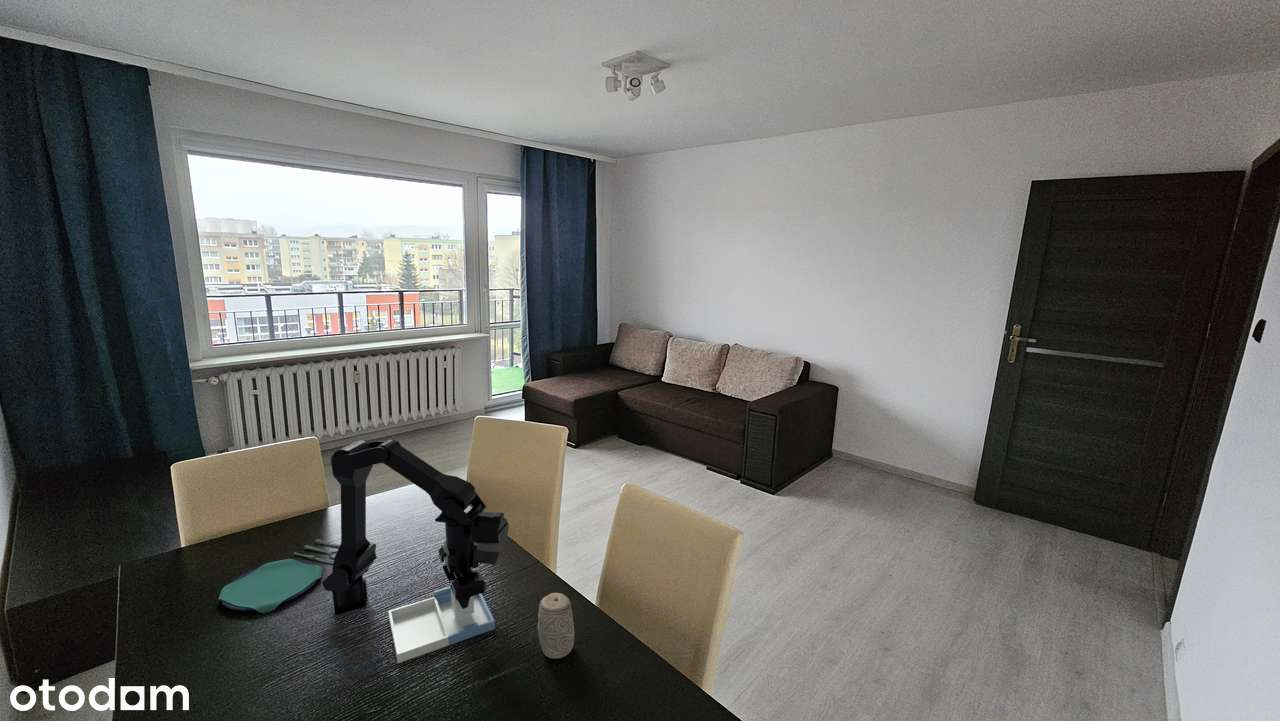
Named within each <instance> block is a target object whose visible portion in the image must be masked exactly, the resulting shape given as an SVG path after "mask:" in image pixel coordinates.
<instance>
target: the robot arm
mask: <svg viewBox="0 0 1280 721" xmlns="http://www.w3.org/2000/svg"><path fill="white" fill-rule="evenodd" d="M378 464H384V465H385V466H386V467H388V468H390V469H391V470H393V471H394V472H396V473H397V474H398V475H400V476H402V477H403V478H404V479H406V480H408V481H409V482H410V483H412V484H414V485H415V486H417V487H418V488H420V489H421V490H423V491H424V492H426V494H428V495H429V498H430V500H431V501H432V504H433V505H434V506H435V507H437V509H438V510H439V511H441V513H440V514H439V515H438V516H437V517H435V519H434V521H435V522H436V523H444V524H445V525H444V527H445V541H443V543H444V544H443V545H441V547H440V548H439V549H438V558H439V562H440V564H441V563H445V564H443V565H442V570H443V571H444V574H445V576H446V578H447V580H448V581H449V584H450V585H449V587H451V590H452V592H453V594H454V596H455V599H456V600H458V602H459V604H460V605H461V607H462V609H464V608H467V607H468V604H469V600H470V597H471V596H475V595H478V594H483V593H485V592H486V591H487V583H486V581H485V579H484V576H483V575H482V574H481V573H480V572H478V571H473V569H475V568H479V564H485V565H486V564H487V565H488V564H489V565H491V566H495V565H497V564H498V560H499V557H500V554H501V551H502V550H501V549H500V547H499V546H503V545H504V544H505V543H506V540H507V537H508V533H509V522H508V519H507V518H506V517H505V513H504V512H501V511H500V512H499V511H498V512H489V511H485V510H486V509H487V505H486V503H485V502H484V501H483V500H482V499H481V497H480V496H479V494H478V493H477V492H476V490H475V489H476V488H475V486H474V485H473V484H472V483H471V482H469V481H467V480H465V479H463V478H461V477H459V476H456V475H451V474H450V475H448V474H445V473H444V472H441V471H440V470H438V469H437V468H435V467H434V466H432V465H430V464H429V463H427V462H426V461H425V460H423V459H421V458H420V457H418V456H417V455H416V454H414V453H413V452H411V451H409V450H408V449H407V448H406V447H404V446H402V445H401V442H399V441H398V440H396V439H388V440H374V441H368V442H367V441H364V440H361V439H360V440H355V441H354V442H352V443H349V444H348V445H346V446H344V447H342V448H339V449H338V450H336V451H334V453H332V455H331V456H330V465H331V471H332V476H333V477H334V480H336V481H337V483H339V485H340V486H339V487H340V544H339V545H340V547H339V548H338V549H337V550H336V551H337V553H336V554H334V555H335V556H334V557H333V558H334V559H333V565H332V569H331V573H330V574H329V575H328V576H326V578H325V579H324V580H323V581H322V582H321V584H322V587H323V588H324V590H325V591H327V592H332V610H333V616H338V615H342V614H344V613H348V612H351V611H355V610H359V609H362V608H364V607H366V606H367V602H366V601H367V600H368V587H367V586H368V585H367V581H366V580H367V579H366V578H364V575H365V574H366V573H368V572H369V568H370V567H371V566H372V565H373V564H374V563H375V560H376V559H378V557H377V553H376V549H377V544H376V543H371V542H370V541H369V539H368V538H367V533H366V532H367V525H366V524H367V522H366V521H367V519H366V518H367V517H366V516H367V511H366V510H367V501H366V500H367V499H366V496H367V494H366V493H367V491H366V490H367V489H366V487H367V483H366V482H367V480H368V477H369V475H370V473H371V471H372V469H373V467H374V466H373V465H378ZM469 506H472V507H471V508H470V509H469V510H468V511H467V512H466V511H465V510H467V509H468V507H469ZM452 580H454V581H453V582H452V585H451V582H450V581H452Z"/></svg>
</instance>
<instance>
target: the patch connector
mask: <svg viewBox="0 0 1280 721" xmlns="http://www.w3.org/2000/svg"><path fill="white" fill-rule="evenodd" d="M453 581H454V580H452V581H450V582H451V584H450V585H452V582H453ZM450 582H449V583H450ZM451 603H452V610H453V613H454V616H455V618H456V619H457V618H460V617H463V616H466V615H469V614H472V613H474V596H471V597H470V600H469V604H468V607H467V608H464V609H462V607H461V605H460V604H459V602H458V600H456V599H455V596H454V594H453V592H452V590H451Z"/></svg>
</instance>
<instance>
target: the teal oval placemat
mask: <svg viewBox="0 0 1280 721" xmlns="http://www.w3.org/2000/svg"><path fill="white" fill-rule="evenodd" d="M314 543H315V544H319V545H322V544H323V546H326V545H327V546H328V547H331V548H338V549H339V547H340V545H341V544H334V543H330V542H327V541H324V540H321V539H314ZM327 546H326V547H327ZM303 549H305V550H310V551H315V552H320V553H324V554H327V555H328V556H329V557H330V558H331V559H333V561H332V560H329V559H324V558H320V557H317V555H313V554H311V555H308V554H301V553H298V552H296V551H295V552H293V556H301V557H304V558H305V557H306V558H307V559H309V560H312V561H317V562H319V563H323V564H328V565H332V566H333V562H334V557H332V556H333V555H336V553H337V551H338V550H335V551H331V552H329V551H326V550H324V549H321V548H318V547H314V546H312V545H311V546H310V545H308V544H306V545H304V546H303ZM309 560H302V559H293V558H286V559H281V560H274V561H271V562H266V563H264V564H262V565H261V566H259V567H256V568H254V569H252V570H249V571H247V572H245V573H243V574H241V575H239V576H238V577H236V578H235V579H233V580H232V581H230V582H229V583H228V584H226V585H225V586H224V587H223V588H222V589H221V590H220V593H219V596H218V598H217V600H218V601H221V603H222V605H223V606H225V607H226V608H228V609H230V610H236V611H244V612H245V611H246V612H247V611H257V612H258V613H261V614H265V613H264V612H267V611H272V610H273V611H274V610H275V609H277V608H278V606H280V605H281V604H284V603H286V602H289V601H292V600H293V599H295V598H297V597H298V596H301V595H303V594H304V593H306V592H307V591H308V590H310V589H311V588H312V587H313V586H314V585H315V584H317V582H318V580H320V579H322V573H323V568H322V566H321V565H318V564H316V563H315V562H312V561H309ZM273 611H272V612H273Z"/></svg>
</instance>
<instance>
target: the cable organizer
mask: <svg viewBox="0 0 1280 721" xmlns="http://www.w3.org/2000/svg"><path fill="white" fill-rule="evenodd" d="M387 613H388V621H389V625H390V632H391V635H392V636H391V637H392V641H393V645H394V650H395V651H394V653H395V656H396V663H397V664H400V663H403V662H406V661H408V660H411V659H414V658H417V657H420V656H423V655H425V654H429V653H431V652H435V651H436V650H440V649H443V648H446V647H448V646H450V645H453V644H457V643H460V642H462V641H464V640H468V639H470V638H472V637H473V638H474V637H477V636H479V635H482V634H485V633H487V632H491V631H493V630H496V629H495V628H496V624H495V622H496V621H495V619H494V616H493V614H492V612H491V611H490V608H489V606H488V604H487V602H486V600H485V598H484V596H483V593H481V594H478V595H475V596H474V613H472V614H469V615H466V616H463V617H460V618H457V619H456V618H455V616H454V613H453V610H452V603H451V587H450V586H447V587H444V588H440V589H437V590H433V597H429V598H427V599H426V598H425V599H423V600H419V601H416V602H414V603H410V604H407V605H403V606H399V607H396V608H393V609H390V610H388V611H387Z"/></svg>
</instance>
